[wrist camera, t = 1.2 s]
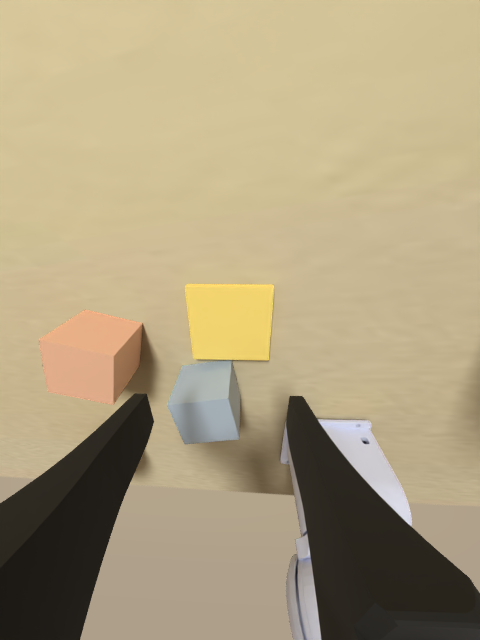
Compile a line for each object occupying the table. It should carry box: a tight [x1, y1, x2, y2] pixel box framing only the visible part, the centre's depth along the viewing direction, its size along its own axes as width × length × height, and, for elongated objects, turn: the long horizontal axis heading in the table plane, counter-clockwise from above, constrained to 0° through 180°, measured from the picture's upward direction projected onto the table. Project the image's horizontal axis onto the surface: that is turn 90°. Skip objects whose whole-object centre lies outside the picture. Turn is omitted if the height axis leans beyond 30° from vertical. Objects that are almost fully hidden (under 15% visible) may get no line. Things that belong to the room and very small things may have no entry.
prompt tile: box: [185, 284, 274, 360], centre depth 19 cm, size 7×7×1 cm
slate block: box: [167, 360, 240, 444], centre depth 21 cm, size 5×5×5 cm
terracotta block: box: [39, 310, 143, 405], centre depth 19 cm, size 5×5×5 cm
